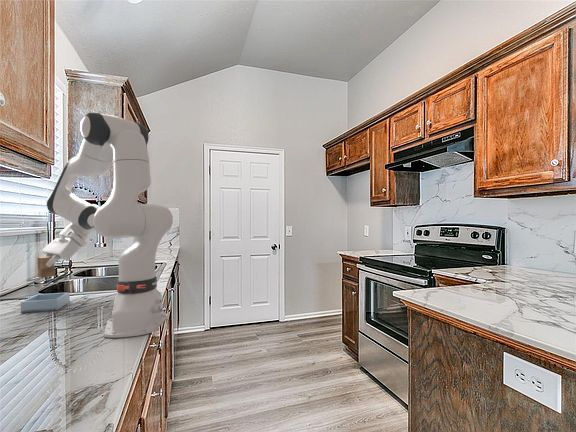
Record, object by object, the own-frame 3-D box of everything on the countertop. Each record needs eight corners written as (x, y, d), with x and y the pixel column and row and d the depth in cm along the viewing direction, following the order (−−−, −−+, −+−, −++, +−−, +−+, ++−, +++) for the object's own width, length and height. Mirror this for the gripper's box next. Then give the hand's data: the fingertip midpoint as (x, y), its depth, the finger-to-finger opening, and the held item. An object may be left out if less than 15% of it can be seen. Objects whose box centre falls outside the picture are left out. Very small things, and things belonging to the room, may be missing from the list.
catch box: (57, 310, 123) (56, 299, 123) (20, 313, 120) (20, 302, 120) (69, 302, 134) (69, 292, 134) (36, 304, 131) (36, 294, 131)
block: (54, 276, 127) (53, 256, 127) (42, 277, 124) (41, 258, 124) (49, 274, 130) (49, 255, 130) (37, 276, 127) (37, 257, 127)
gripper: (55, 232, 139) (27, 258, 131) (75, 233, 126) (46, 262, 119) (67, 241, 142) (41, 267, 134) (88, 244, 130) (60, 272, 122)
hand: (43, 265), depth 126 cm, fingers closed on block, 4 cm apart
